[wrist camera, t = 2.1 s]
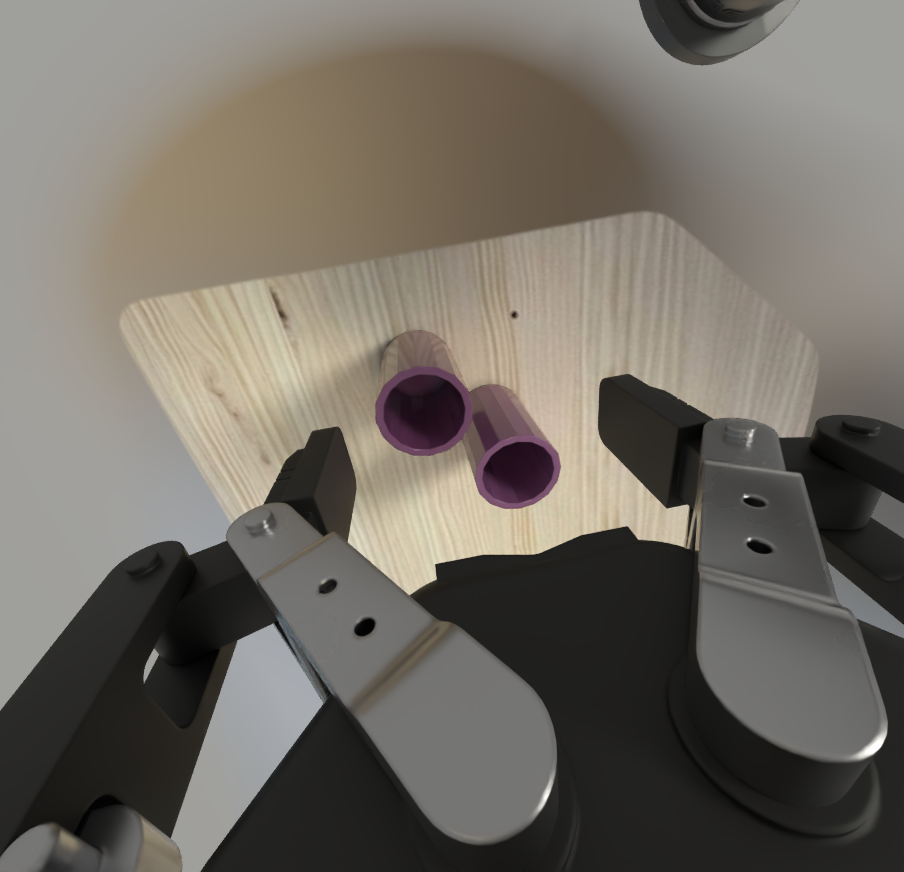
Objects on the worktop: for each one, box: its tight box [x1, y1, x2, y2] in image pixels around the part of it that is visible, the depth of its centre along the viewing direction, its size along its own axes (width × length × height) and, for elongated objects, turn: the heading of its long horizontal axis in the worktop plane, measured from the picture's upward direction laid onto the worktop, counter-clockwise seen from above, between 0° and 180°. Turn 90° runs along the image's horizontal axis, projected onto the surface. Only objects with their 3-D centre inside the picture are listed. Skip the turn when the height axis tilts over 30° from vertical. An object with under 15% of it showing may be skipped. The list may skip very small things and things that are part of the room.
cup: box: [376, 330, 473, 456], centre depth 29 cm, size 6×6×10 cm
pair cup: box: [462, 385, 561, 509], centre depth 31 cm, size 6×6×10 cm
